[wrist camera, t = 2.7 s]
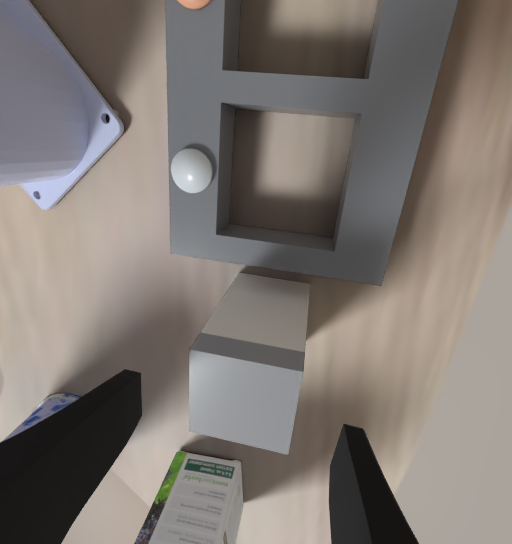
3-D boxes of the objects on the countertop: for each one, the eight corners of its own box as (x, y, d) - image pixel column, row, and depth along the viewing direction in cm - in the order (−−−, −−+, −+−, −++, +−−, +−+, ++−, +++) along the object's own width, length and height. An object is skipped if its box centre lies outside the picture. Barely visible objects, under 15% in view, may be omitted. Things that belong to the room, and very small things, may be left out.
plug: (239, 272, 19) (189, 349, 12) (310, 283, 19) (303, 372, 11) (234, 332, 21) (189, 431, 14) (299, 344, 20) (288, 454, 13)
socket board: (189, -129, 13) (157, -197, 10) (475, -139, 11) (521, -223, 9) (188, 240, 19) (168, 255, 16) (373, 267, 17) (382, 288, 15)
